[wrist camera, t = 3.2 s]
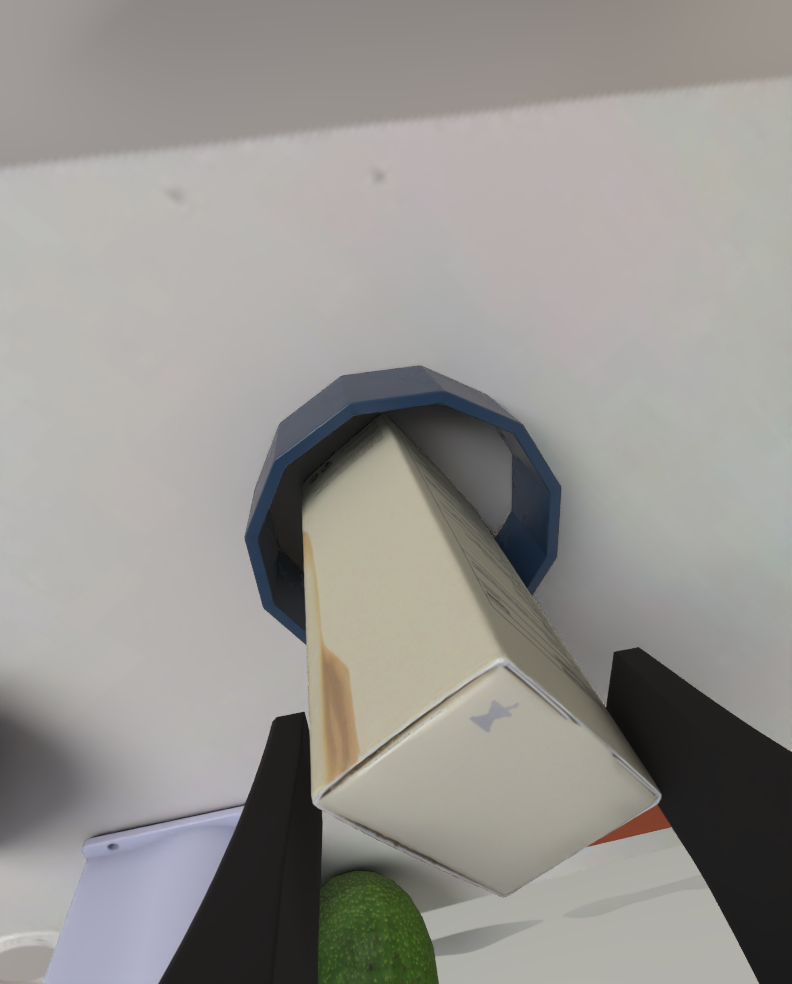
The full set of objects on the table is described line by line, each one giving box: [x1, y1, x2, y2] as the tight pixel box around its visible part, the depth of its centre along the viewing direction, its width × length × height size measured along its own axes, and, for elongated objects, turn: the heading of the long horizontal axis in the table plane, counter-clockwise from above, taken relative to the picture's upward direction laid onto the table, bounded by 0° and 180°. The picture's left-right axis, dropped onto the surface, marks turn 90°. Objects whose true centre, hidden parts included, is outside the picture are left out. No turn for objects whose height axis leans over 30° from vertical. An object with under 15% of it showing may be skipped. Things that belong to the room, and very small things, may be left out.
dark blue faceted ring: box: [245, 366, 561, 645], centre depth 18 cm, size 10×10×4 cm
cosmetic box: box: [301, 414, 661, 897], centre depth 15 cm, size 6×4×12 cm
